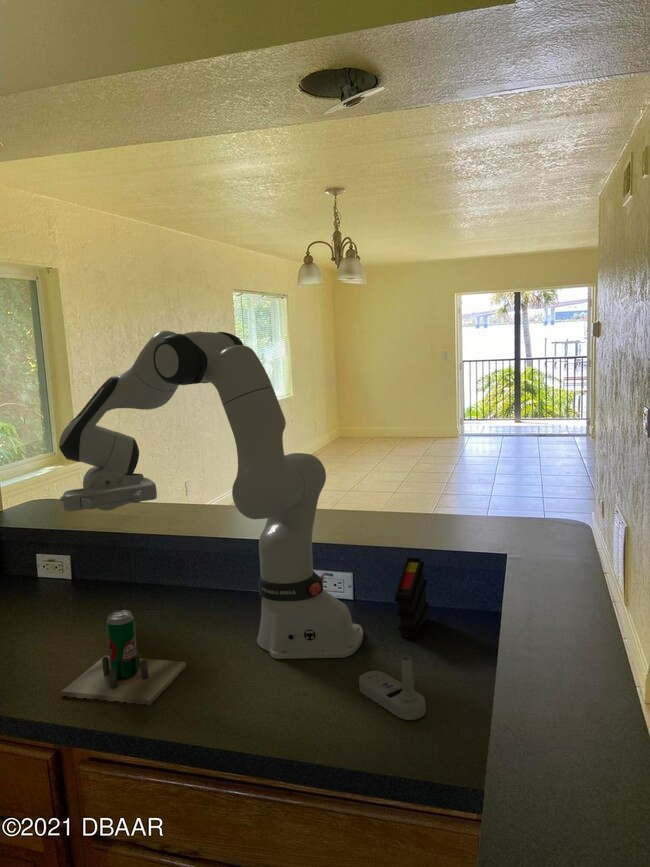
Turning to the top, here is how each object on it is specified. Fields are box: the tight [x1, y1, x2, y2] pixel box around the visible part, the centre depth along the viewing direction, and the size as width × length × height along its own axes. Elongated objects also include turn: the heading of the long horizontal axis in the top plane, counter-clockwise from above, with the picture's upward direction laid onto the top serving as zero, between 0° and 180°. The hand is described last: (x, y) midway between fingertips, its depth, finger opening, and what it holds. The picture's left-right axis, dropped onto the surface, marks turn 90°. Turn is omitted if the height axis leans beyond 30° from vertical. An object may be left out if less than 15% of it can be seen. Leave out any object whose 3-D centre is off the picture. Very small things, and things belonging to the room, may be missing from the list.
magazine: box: [394, 557, 430, 638], centre depth 139 cm, size 4×13×15 cm, turn 157°
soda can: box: [105, 609, 139, 680], centre depth 123 cm, size 5×5×12 cm
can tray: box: [61, 647, 187, 706], centre depth 123 cm, size 18×14×5 cm
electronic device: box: [358, 655, 427, 721], centre depth 112 cm, size 5×10×15 cm
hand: (114, 502), depth 141 cm, fingers open, 8 cm apart
